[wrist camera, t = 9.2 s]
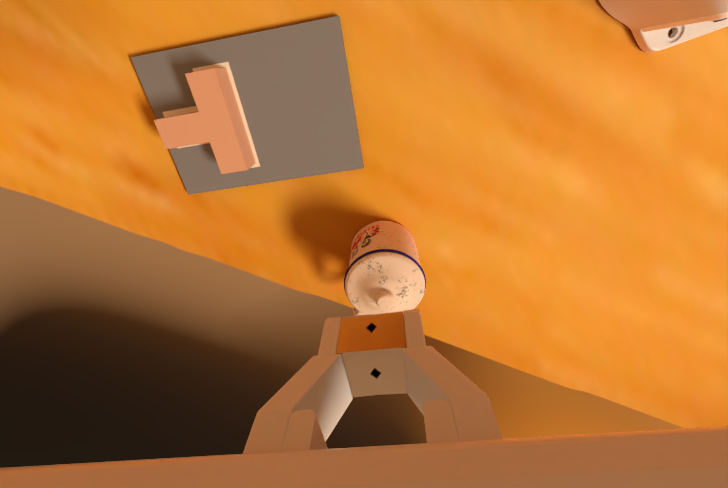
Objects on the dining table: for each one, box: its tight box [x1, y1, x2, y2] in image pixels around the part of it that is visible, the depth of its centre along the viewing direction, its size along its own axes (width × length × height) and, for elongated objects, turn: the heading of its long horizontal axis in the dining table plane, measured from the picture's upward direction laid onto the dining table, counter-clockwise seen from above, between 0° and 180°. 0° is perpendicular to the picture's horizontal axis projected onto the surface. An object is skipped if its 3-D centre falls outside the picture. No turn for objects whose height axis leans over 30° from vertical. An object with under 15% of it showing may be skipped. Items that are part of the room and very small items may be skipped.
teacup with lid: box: [344, 221, 426, 316], centre depth 40 cm, size 12×9×12 cm
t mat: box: [130, 16, 364, 194], centre depth 37 cm, size 22×15×1 cm
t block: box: [154, 68, 256, 174], centre depth 36 cm, size 8×10×3 cm
